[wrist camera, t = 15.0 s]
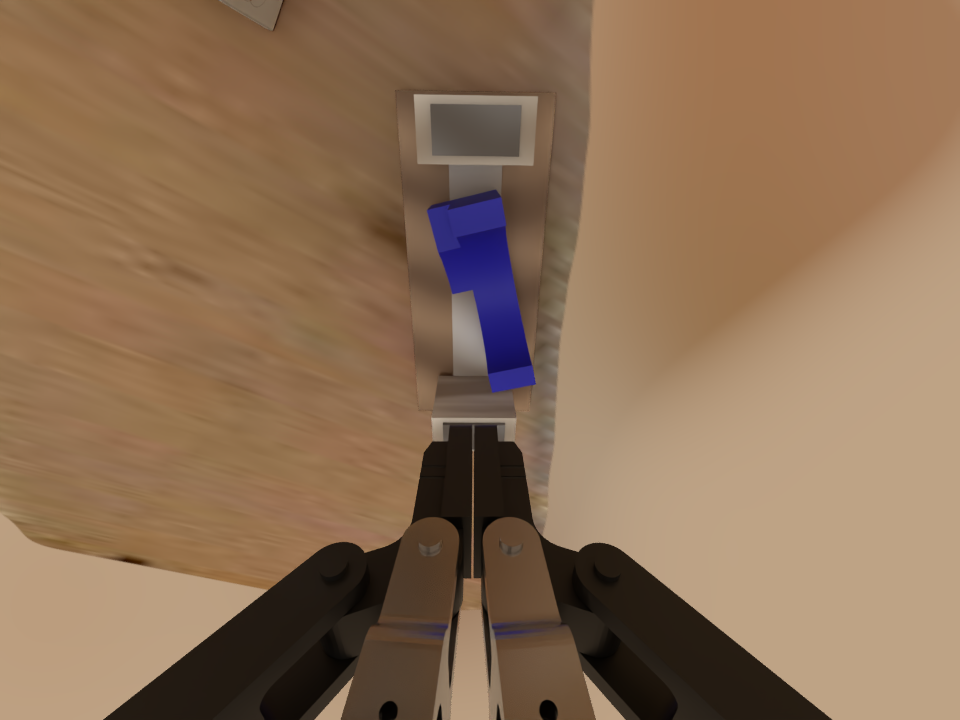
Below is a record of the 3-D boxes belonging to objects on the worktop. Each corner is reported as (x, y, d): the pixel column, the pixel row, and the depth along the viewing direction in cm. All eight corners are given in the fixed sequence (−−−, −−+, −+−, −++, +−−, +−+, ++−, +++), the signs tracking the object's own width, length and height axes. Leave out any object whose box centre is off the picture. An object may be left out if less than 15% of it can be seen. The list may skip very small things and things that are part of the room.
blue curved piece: (431, 205, 27) (420, 216, 21) (496, 189, 26) (501, 197, 21) (471, 357, 32) (470, 397, 27) (525, 346, 32) (535, 384, 26)
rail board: (399, 93, 25) (368, 66, 18) (551, 96, 26) (583, 70, 18) (420, 401, 36) (406, 464, 29) (527, 402, 37) (540, 464, 29)
